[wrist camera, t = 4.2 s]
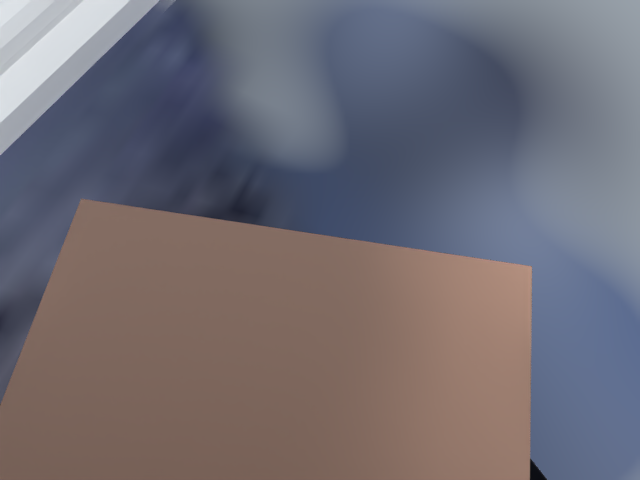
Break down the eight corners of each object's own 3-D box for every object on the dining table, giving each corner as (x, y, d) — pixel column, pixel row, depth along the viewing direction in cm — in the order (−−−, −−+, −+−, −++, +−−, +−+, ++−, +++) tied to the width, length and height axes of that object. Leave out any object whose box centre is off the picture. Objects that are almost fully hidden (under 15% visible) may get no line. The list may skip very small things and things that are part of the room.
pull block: (373, 495, 13) (526, 1006, 2) (234, 466, 13) (-151, 788, 3) (390, 349, 14) (531, 266, 4) (264, 327, 15) (81, 198, 4)
